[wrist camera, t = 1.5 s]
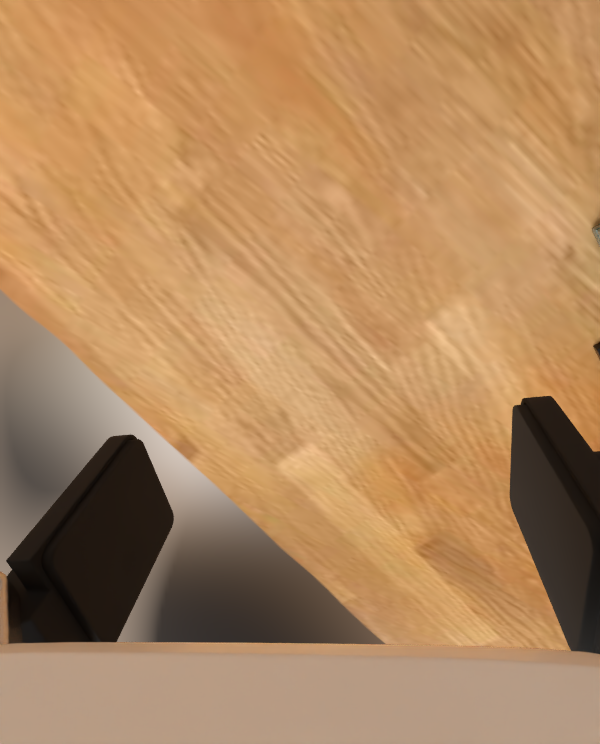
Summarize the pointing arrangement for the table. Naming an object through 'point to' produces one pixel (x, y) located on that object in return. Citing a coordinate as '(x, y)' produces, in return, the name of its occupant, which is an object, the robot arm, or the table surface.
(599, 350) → the cradle
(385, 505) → the table surface
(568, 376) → the table surface
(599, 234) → the teal drawer box
